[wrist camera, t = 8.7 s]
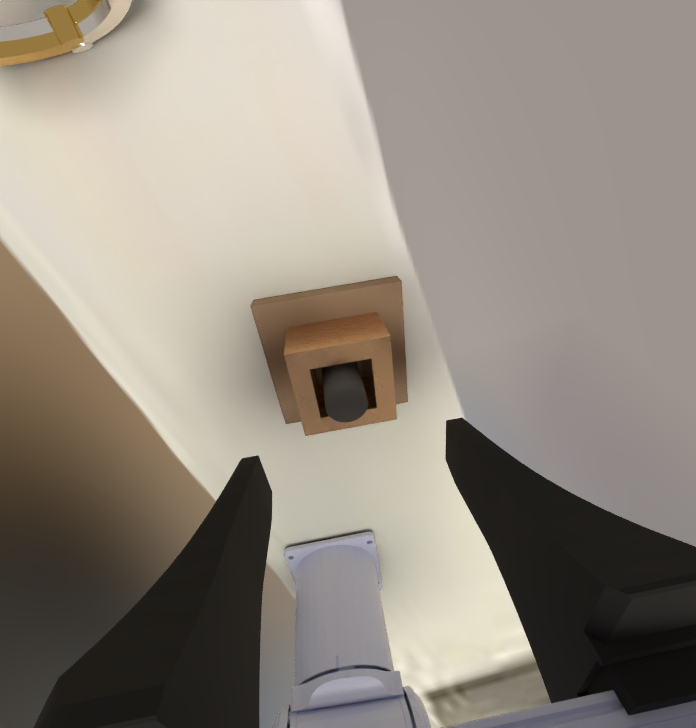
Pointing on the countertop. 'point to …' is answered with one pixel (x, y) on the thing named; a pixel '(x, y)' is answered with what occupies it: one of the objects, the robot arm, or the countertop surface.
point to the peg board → (322, 305)
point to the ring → (61, 30)
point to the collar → (340, 346)
